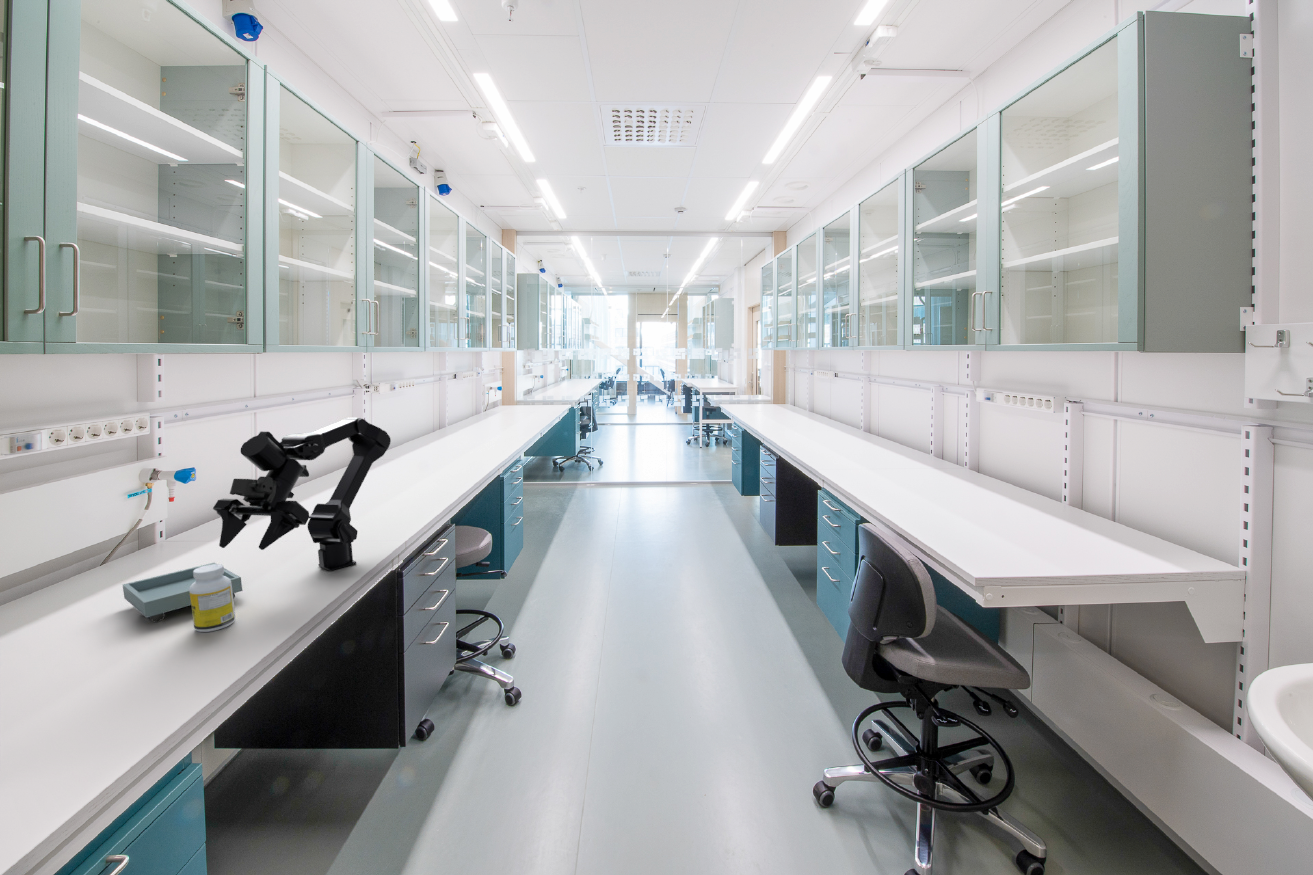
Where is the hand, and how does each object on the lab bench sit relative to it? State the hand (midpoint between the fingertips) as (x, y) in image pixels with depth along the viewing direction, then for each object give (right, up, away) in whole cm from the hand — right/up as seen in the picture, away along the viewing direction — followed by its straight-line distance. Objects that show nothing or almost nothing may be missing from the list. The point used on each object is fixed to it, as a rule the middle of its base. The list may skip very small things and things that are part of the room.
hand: (240, 547), depth 119 cm
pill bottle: (-1, -14, -5) cm, 15 cm away
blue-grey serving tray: (-15, -13, +5) cm, 21 cm away
